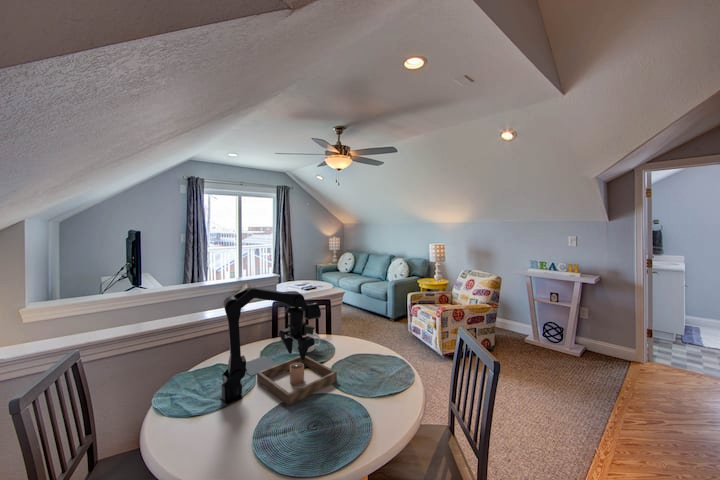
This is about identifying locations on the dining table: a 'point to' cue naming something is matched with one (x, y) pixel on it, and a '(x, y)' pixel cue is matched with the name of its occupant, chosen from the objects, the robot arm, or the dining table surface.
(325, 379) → the frame
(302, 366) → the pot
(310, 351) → the mug
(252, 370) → the mat
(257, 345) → the dining table surface
